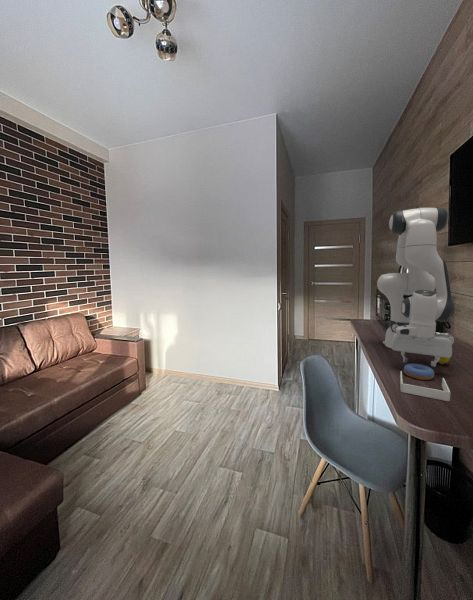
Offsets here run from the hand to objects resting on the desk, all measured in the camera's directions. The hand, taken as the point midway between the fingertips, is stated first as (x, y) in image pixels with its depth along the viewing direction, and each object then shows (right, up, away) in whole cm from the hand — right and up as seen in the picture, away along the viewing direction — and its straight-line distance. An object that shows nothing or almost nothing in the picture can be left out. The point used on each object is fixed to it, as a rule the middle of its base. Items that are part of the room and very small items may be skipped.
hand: (418, 364), depth 110 cm
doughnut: (-3, -4, -5) cm, 7 cm away
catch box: (-10, -5, -16) cm, 19 cm away
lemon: (+15, -2, +8) cm, 17 cm away
